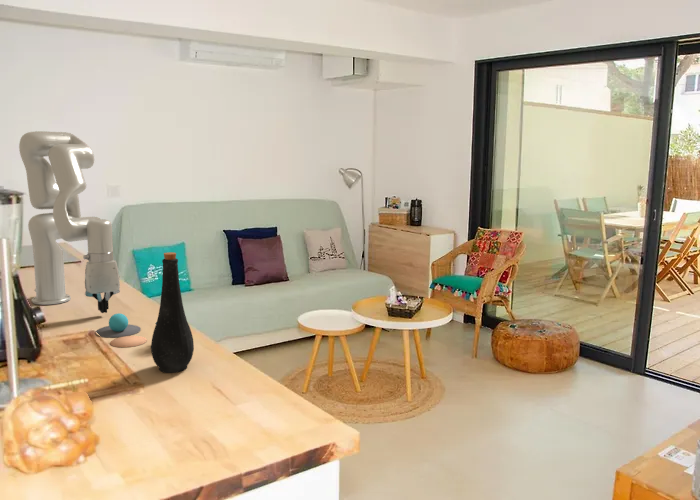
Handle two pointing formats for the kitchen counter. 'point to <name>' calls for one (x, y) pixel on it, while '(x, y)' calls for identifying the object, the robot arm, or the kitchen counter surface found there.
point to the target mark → (110, 333)
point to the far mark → (128, 341)
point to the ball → (118, 322)
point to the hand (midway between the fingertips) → (103, 311)
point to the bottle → (171, 323)
